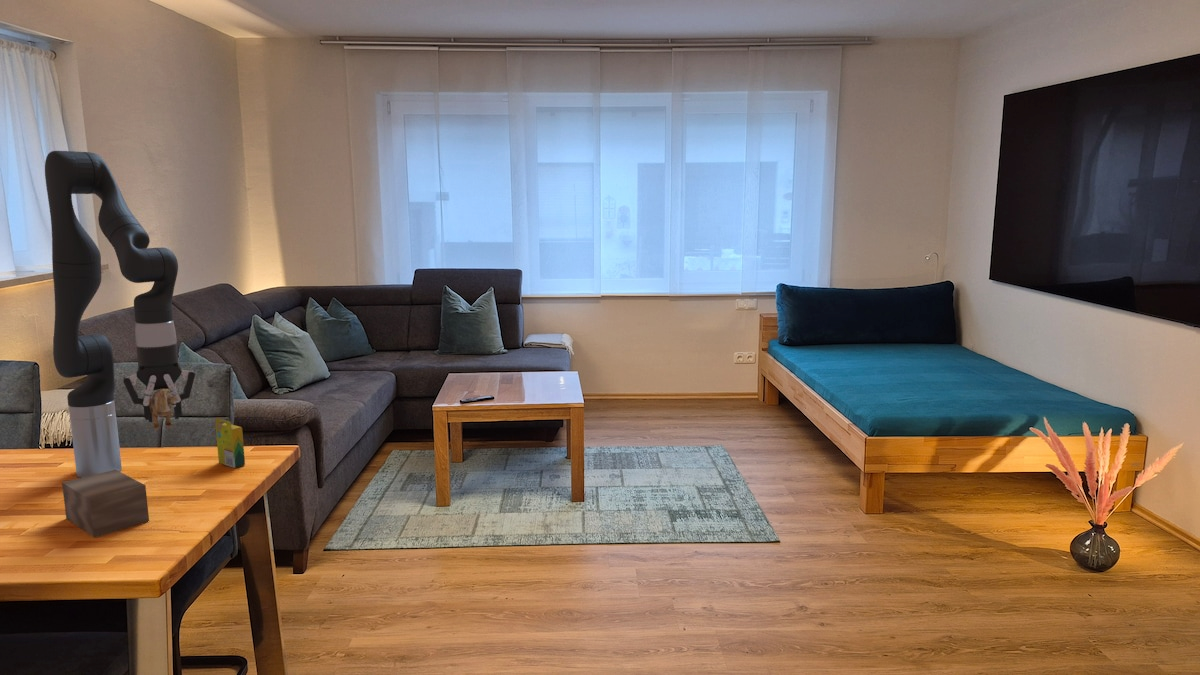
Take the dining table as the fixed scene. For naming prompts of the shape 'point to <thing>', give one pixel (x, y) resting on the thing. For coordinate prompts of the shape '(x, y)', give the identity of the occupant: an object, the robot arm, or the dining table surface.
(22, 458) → the dining table surface
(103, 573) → the dining table surface
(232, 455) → the crayon box
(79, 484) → the brown wooden block
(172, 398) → the lion figurine
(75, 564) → the dining table surface
